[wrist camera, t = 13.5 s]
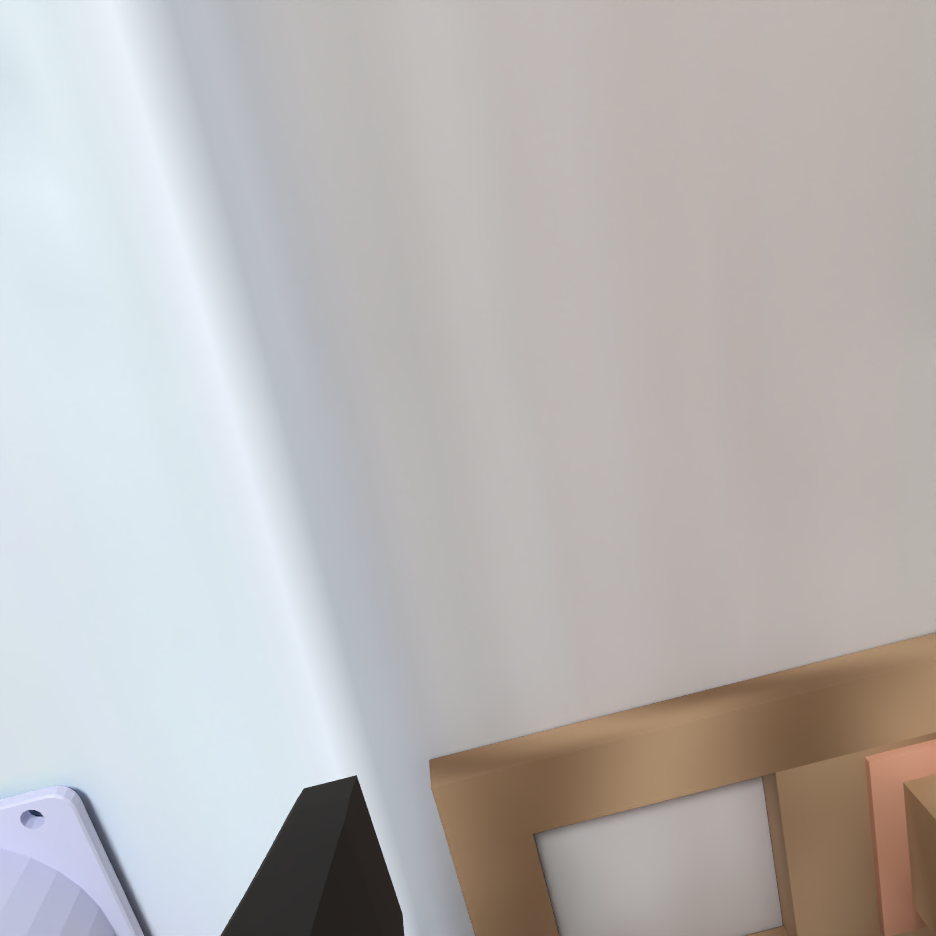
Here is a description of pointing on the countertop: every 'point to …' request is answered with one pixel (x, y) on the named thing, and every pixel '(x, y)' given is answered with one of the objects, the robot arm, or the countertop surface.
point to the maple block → (922, 845)
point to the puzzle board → (714, 765)
